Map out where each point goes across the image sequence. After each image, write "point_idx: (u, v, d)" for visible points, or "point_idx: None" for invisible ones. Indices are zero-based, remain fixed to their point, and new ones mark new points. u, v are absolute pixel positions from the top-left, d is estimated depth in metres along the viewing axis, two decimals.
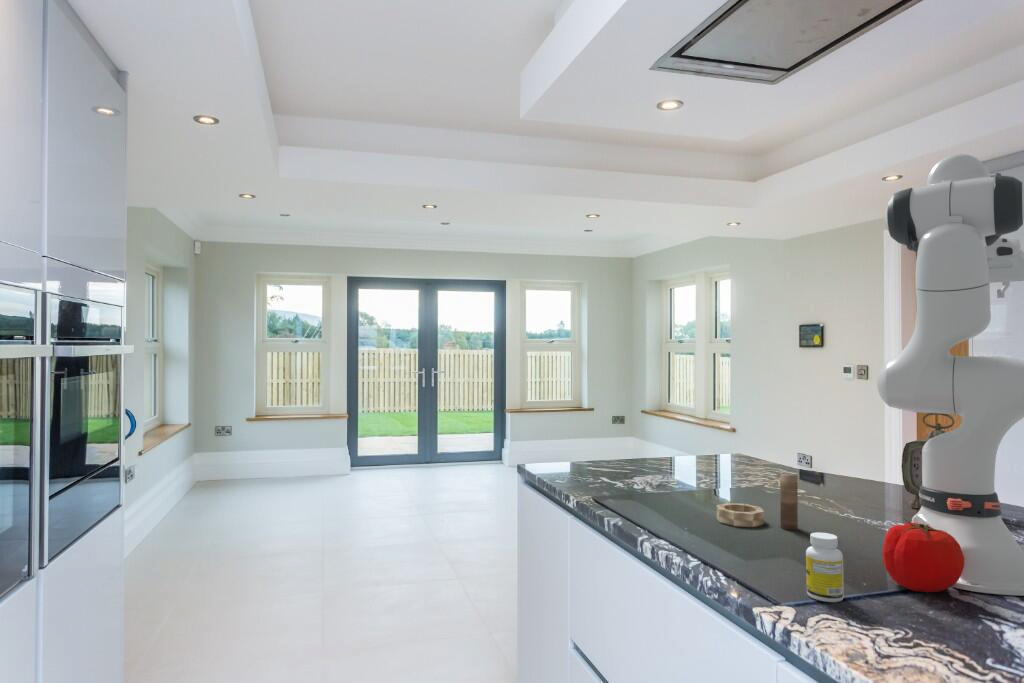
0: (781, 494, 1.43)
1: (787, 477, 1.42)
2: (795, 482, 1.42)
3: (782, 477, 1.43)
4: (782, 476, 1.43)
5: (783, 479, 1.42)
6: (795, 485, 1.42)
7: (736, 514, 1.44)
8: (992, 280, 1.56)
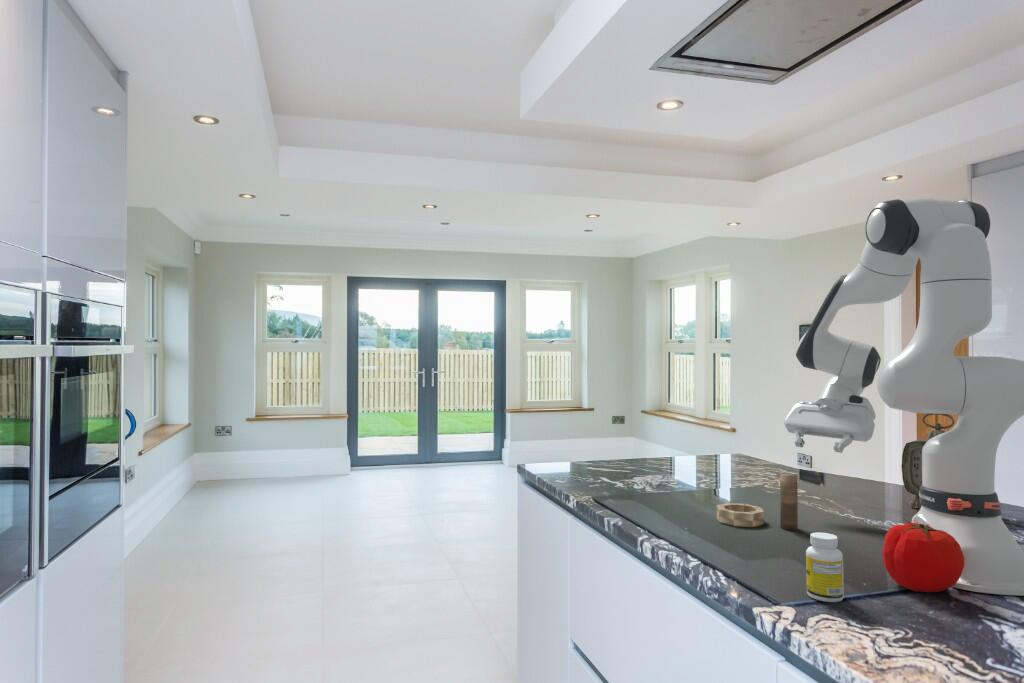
0: (781, 494, 1.43)
1: (787, 477, 1.42)
2: (795, 482, 1.42)
3: (782, 477, 1.43)
4: (782, 476, 1.43)
5: (783, 479, 1.42)
6: (795, 485, 1.42)
7: (736, 514, 1.44)
8: (836, 427, 1.51)
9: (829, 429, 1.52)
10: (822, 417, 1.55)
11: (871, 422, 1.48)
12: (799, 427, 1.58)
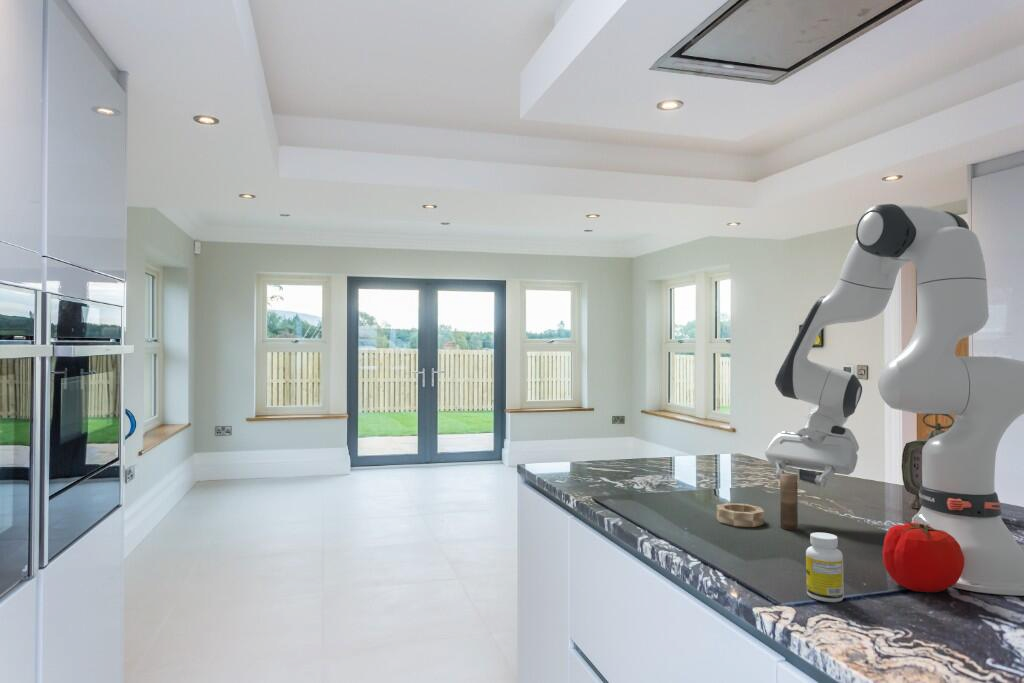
0: (781, 494, 1.43)
1: (787, 477, 1.42)
2: (795, 482, 1.42)
3: (782, 477, 1.43)
4: (782, 476, 1.43)
5: (783, 479, 1.42)
6: (795, 485, 1.42)
7: (736, 514, 1.44)
8: (817, 459, 1.45)
9: (810, 461, 1.46)
10: (803, 448, 1.49)
11: (854, 454, 1.42)
12: (780, 458, 1.52)
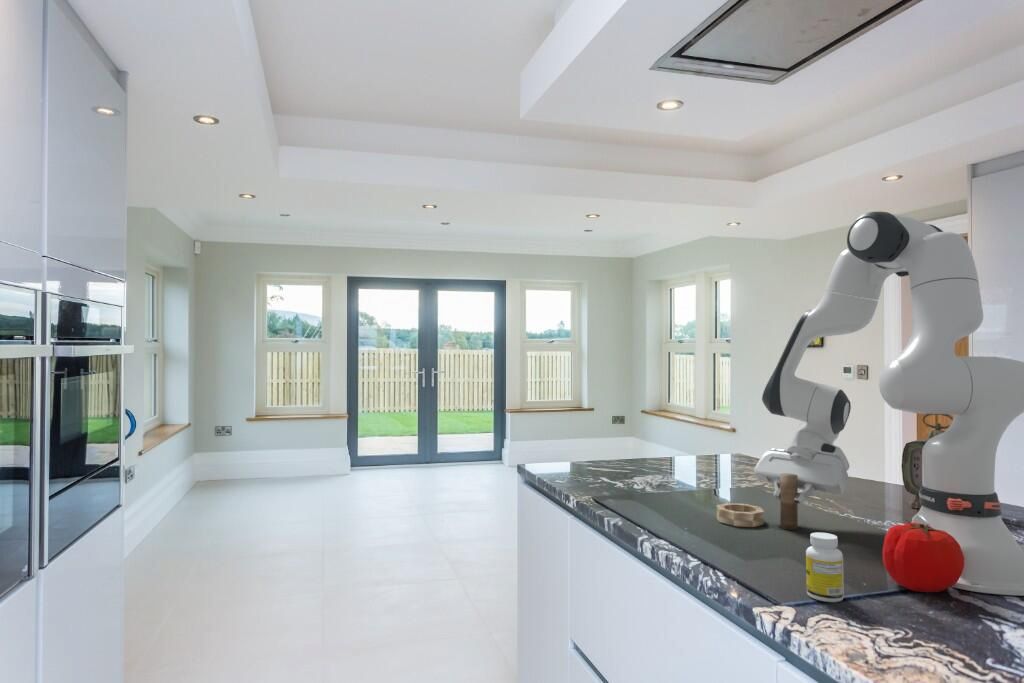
0: (781, 494, 1.43)
1: (787, 477, 1.42)
2: (795, 482, 1.42)
3: (782, 477, 1.43)
4: (782, 476, 1.43)
5: (783, 479, 1.42)
6: (795, 485, 1.42)
7: (736, 514, 1.44)
8: (807, 478, 1.42)
9: (800, 480, 1.43)
10: (793, 466, 1.46)
11: (844, 473, 1.39)
12: (769, 476, 1.49)
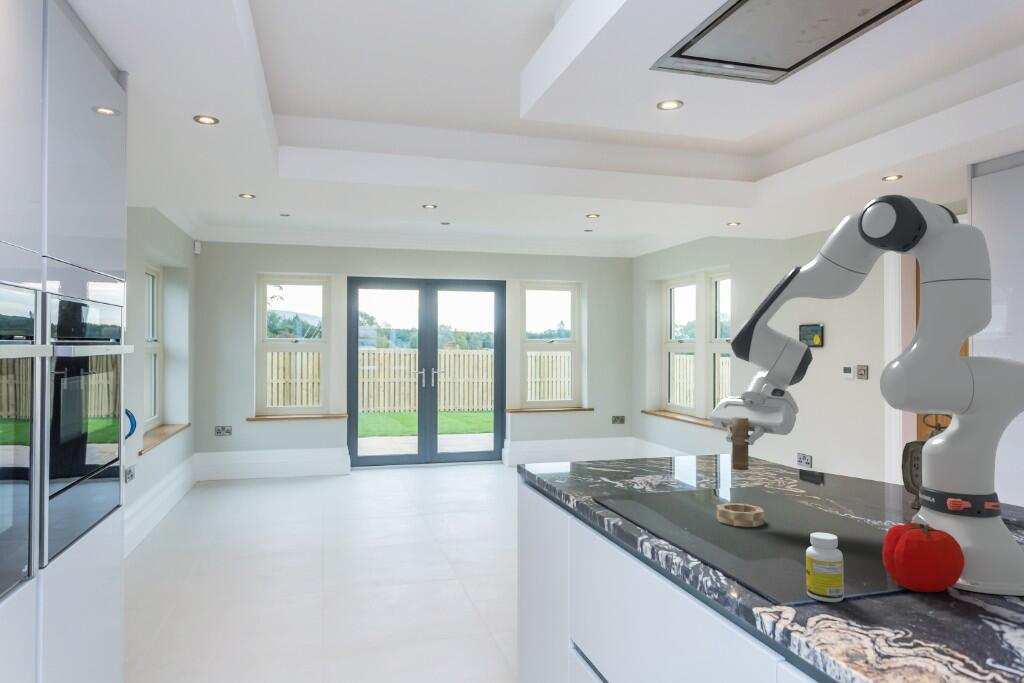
0: (733, 436, 1.49)
1: (738, 420, 1.48)
2: (746, 424, 1.48)
3: (734, 420, 1.49)
4: (734, 419, 1.49)
5: (734, 422, 1.49)
6: (746, 427, 1.48)
7: (736, 514, 1.44)
8: (757, 421, 1.48)
9: (751, 423, 1.49)
10: (745, 411, 1.53)
11: (791, 415, 1.45)
12: (723, 421, 1.55)
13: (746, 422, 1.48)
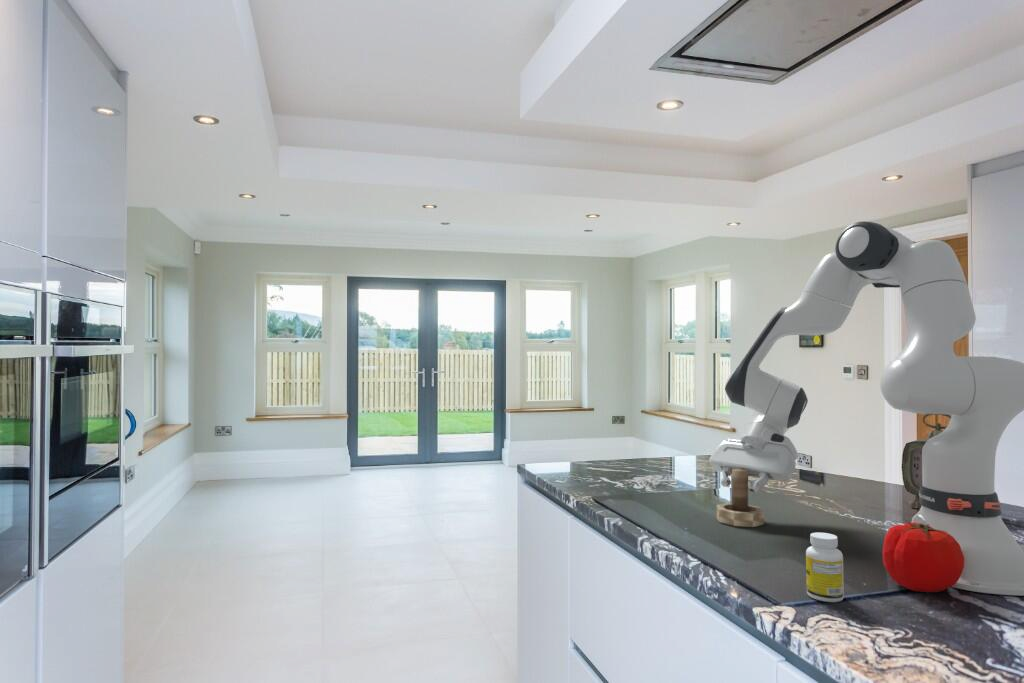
0: (732, 488, 1.49)
1: (738, 472, 1.48)
2: (745, 477, 1.47)
3: (733, 472, 1.48)
4: (733, 471, 1.48)
5: (734, 474, 1.48)
6: (745, 480, 1.47)
7: (736, 514, 1.44)
8: (757, 467, 1.48)
9: (750, 468, 1.49)
10: (745, 455, 1.52)
11: (791, 462, 1.45)
12: (723, 465, 1.54)
13: (746, 474, 1.48)
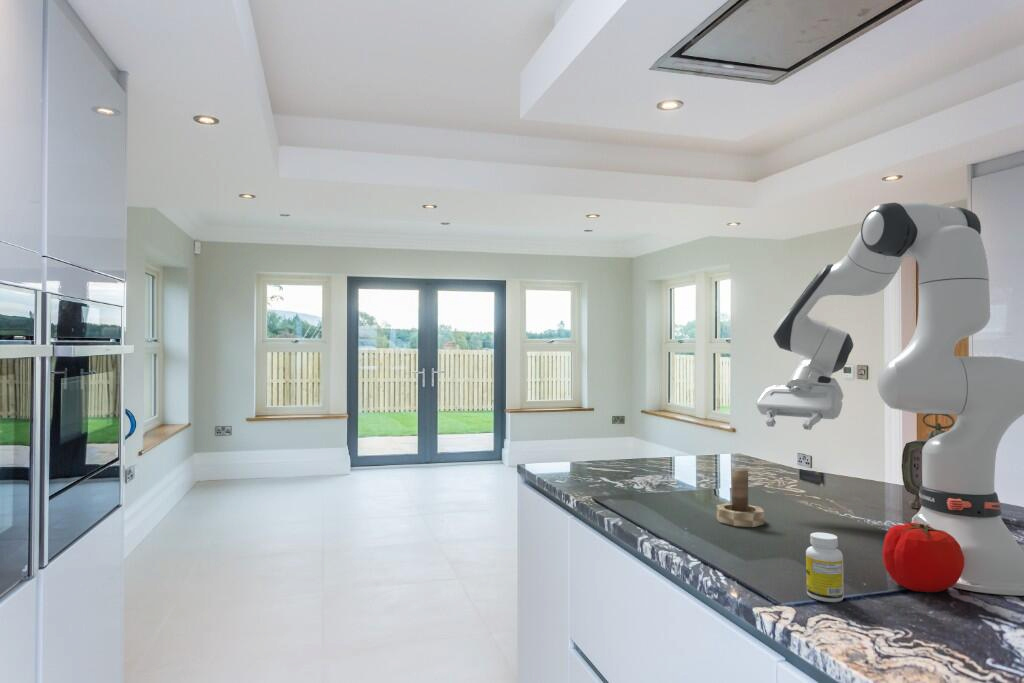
0: (732, 488, 1.49)
1: (738, 472, 1.47)
2: (745, 477, 1.47)
3: (733, 472, 1.48)
4: (733, 471, 1.48)
5: (734, 474, 1.48)
6: (745, 480, 1.47)
7: (736, 514, 1.44)
8: (805, 406, 1.56)
9: (799, 408, 1.57)
10: (792, 397, 1.60)
11: (838, 400, 1.53)
12: (770, 408, 1.63)
13: (746, 474, 1.47)
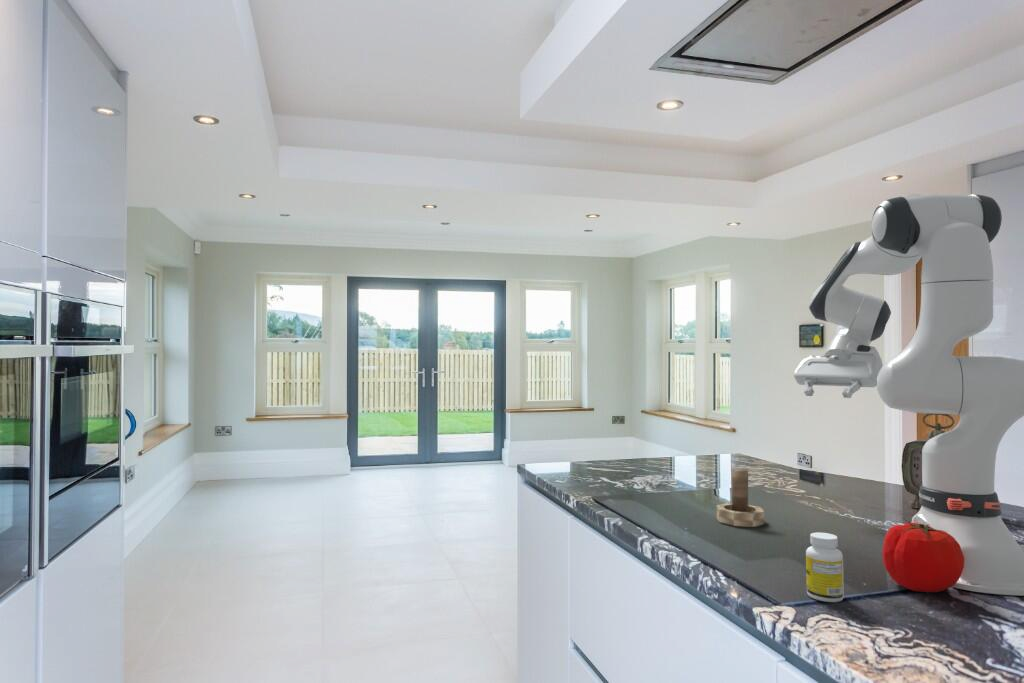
0: (732, 488, 1.49)
1: (738, 472, 1.47)
2: (745, 477, 1.47)
3: (733, 472, 1.48)
4: (733, 471, 1.48)
5: (734, 474, 1.48)
6: (745, 480, 1.47)
7: (736, 514, 1.44)
8: (844, 375, 1.56)
9: (838, 377, 1.57)
10: (831, 367, 1.61)
11: (878, 369, 1.54)
12: (808, 377, 1.63)
13: (746, 474, 1.47)
